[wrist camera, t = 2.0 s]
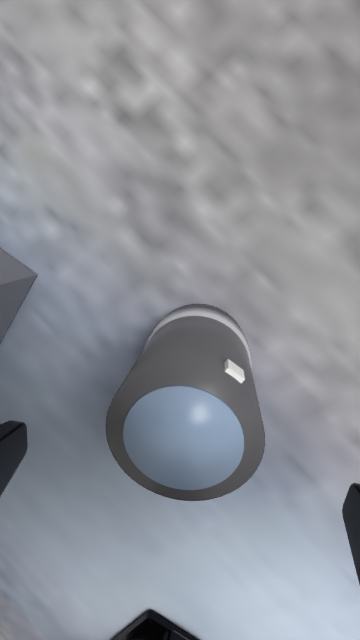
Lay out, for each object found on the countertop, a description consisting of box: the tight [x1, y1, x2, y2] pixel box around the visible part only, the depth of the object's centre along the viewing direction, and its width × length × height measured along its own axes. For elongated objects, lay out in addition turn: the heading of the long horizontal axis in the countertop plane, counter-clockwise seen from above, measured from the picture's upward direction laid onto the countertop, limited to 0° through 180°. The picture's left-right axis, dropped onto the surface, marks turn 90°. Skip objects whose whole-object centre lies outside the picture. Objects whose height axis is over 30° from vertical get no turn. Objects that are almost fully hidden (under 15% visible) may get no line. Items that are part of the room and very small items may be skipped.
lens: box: [106, 304, 265, 501], centre depth 12 cm, size 5×5×7 cm
